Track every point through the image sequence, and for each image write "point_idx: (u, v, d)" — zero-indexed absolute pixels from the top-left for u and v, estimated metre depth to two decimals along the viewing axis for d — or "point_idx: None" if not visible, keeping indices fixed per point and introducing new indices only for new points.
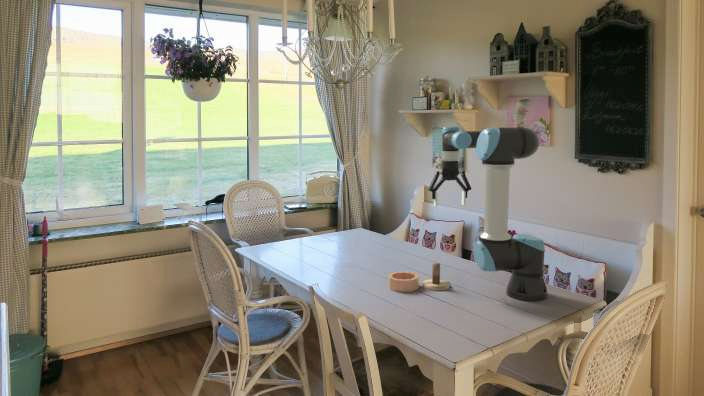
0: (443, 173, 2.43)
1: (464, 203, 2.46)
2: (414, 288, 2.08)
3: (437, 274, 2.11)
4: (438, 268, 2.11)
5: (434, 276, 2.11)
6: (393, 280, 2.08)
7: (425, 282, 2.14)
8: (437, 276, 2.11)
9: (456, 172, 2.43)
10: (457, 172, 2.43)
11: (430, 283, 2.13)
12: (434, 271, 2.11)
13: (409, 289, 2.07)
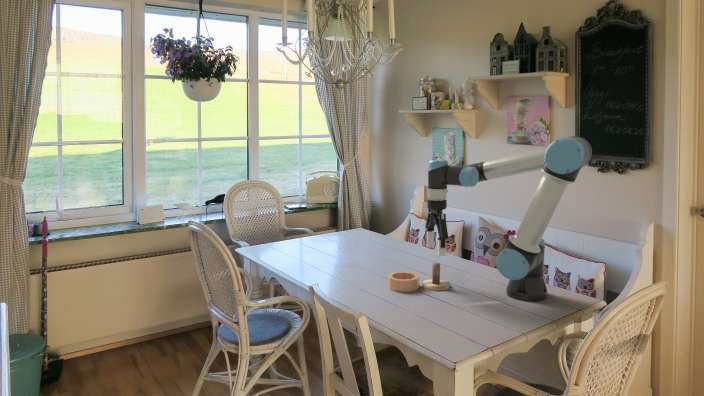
0: (431, 212, 2.12)
1: (438, 253, 2.04)
2: (414, 288, 2.08)
3: (437, 274, 2.11)
4: (438, 268, 2.11)
5: (434, 276, 2.11)
6: (393, 280, 2.08)
7: (425, 282, 2.14)
8: (437, 276, 2.11)
9: (436, 214, 2.06)
10: (436, 214, 2.06)
11: (430, 283, 2.13)
12: (434, 271, 2.11)
13: (409, 289, 2.07)
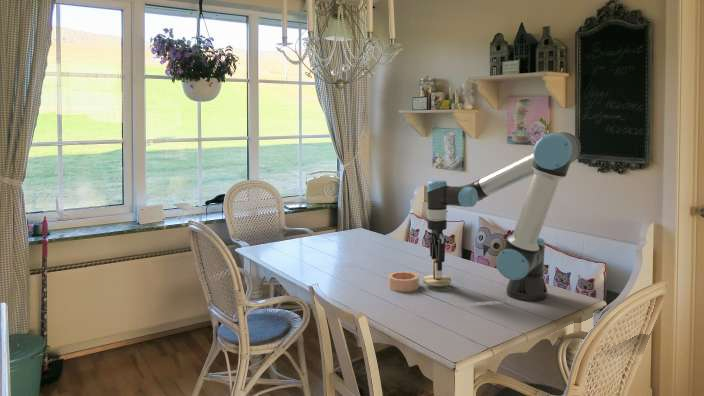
0: (431, 232, 2.13)
1: (435, 275, 2.10)
2: (414, 288, 2.08)
3: None
4: None
5: None
6: (393, 280, 2.08)
7: (426, 278, 2.14)
8: None
9: (436, 234, 2.07)
10: (437, 235, 2.07)
11: (431, 279, 2.12)
12: None
13: (409, 289, 2.07)
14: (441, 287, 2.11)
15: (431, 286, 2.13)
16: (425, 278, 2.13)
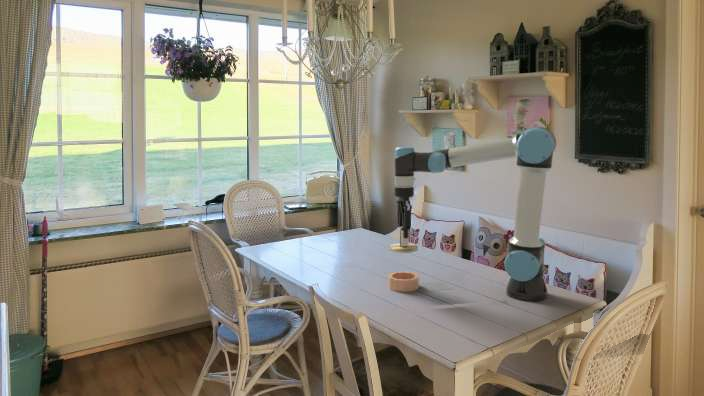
0: (399, 200, 2.11)
1: (401, 243, 2.08)
2: (414, 288, 2.08)
3: None
4: None
5: (401, 239, 2.09)
6: (393, 280, 2.08)
7: (393, 245, 2.12)
8: None
9: (403, 201, 2.05)
10: (403, 202, 2.04)
11: (398, 246, 2.10)
12: (401, 234, 2.09)
13: (409, 289, 2.07)
14: (441, 287, 2.11)
15: (431, 286, 2.13)
16: (392, 246, 2.11)
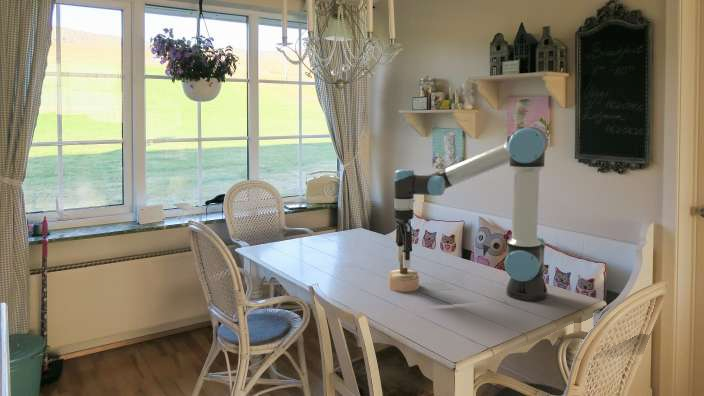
0: (398, 221, 2.12)
1: (403, 265, 2.07)
2: (414, 288, 2.08)
3: None
4: None
5: (401, 266, 2.10)
6: (393, 280, 2.08)
7: (393, 272, 2.13)
8: None
9: (403, 224, 2.06)
10: (403, 224, 2.06)
11: (398, 273, 2.12)
12: (401, 261, 2.10)
13: (409, 289, 2.07)
14: (441, 287, 2.11)
15: (431, 286, 2.13)
16: (392, 272, 2.13)
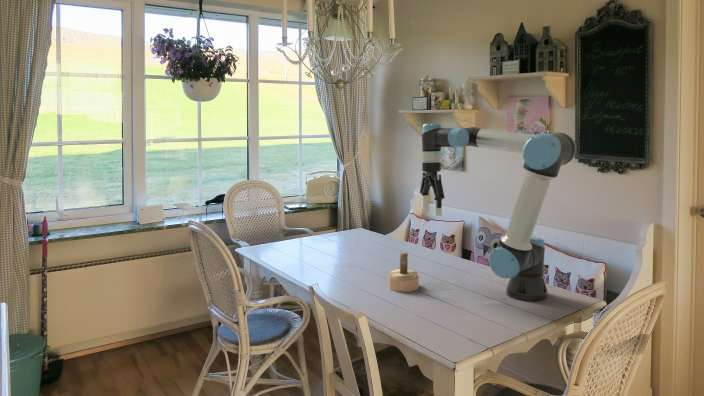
0: (426, 175, 2.19)
1: None
2: (414, 288, 2.08)
3: (404, 264, 2.10)
4: (405, 258, 2.10)
5: (401, 266, 2.10)
6: (393, 280, 2.08)
7: (393, 272, 2.13)
8: (404, 266, 2.10)
9: (431, 176, 2.13)
10: (432, 176, 2.12)
11: (398, 273, 2.12)
12: (401, 261, 2.10)
13: (409, 289, 2.07)
14: (441, 287, 2.11)
15: (431, 286, 2.13)
16: (392, 272, 2.13)
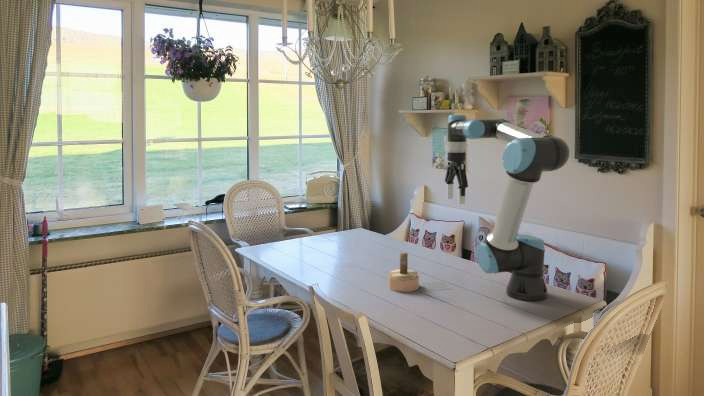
0: (451, 165, 2.28)
1: (458, 201, 2.20)
2: (414, 288, 2.08)
3: (404, 264, 2.10)
4: (405, 258, 2.10)
5: (401, 266, 2.10)
6: (393, 280, 2.08)
7: (393, 272, 2.13)
8: (404, 266, 2.10)
9: (456, 165, 2.21)
10: (456, 165, 2.21)
11: (398, 273, 2.12)
12: (401, 261, 2.10)
13: (409, 289, 2.07)
14: (441, 287, 2.11)
15: (431, 286, 2.13)
16: (392, 272, 2.13)
